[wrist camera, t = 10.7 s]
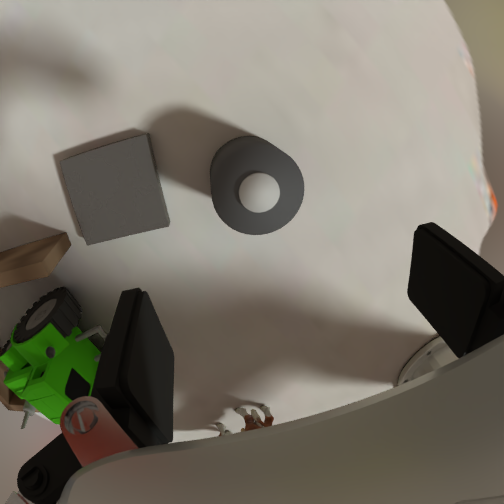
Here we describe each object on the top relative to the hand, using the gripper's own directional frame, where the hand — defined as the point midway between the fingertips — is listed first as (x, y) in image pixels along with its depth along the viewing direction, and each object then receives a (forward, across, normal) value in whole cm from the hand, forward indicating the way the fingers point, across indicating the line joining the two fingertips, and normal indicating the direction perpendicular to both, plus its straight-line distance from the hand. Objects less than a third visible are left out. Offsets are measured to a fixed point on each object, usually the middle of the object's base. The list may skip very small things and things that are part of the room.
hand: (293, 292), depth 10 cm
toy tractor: (+15, +21, +12) cm, 29 cm away
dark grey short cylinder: (+15, -1, 0) cm, 15 cm away
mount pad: (+15, +9, -1) cm, 18 cm away
